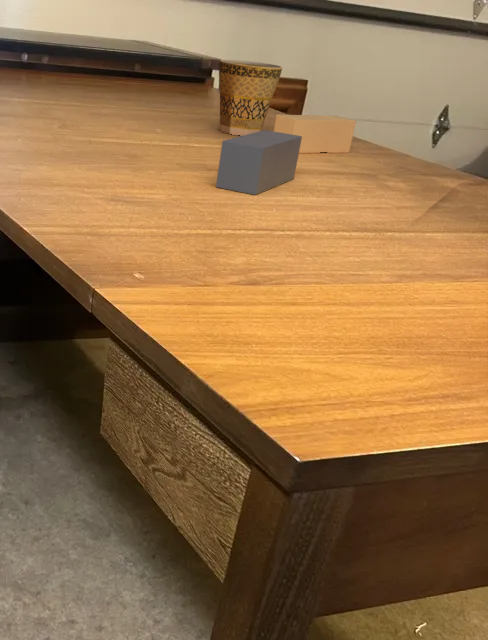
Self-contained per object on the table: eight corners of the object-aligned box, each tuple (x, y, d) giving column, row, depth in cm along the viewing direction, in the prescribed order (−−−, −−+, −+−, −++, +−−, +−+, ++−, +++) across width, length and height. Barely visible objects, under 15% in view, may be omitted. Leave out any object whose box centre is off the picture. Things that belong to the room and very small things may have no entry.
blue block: (264, 129, 103) (222, 140, 93) (302, 136, 101) (263, 147, 91) (257, 172, 106) (215, 187, 96) (293, 179, 104) (255, 195, 94)
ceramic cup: (267, 141, 130) (279, 69, 124) (205, 132, 131) (214, 61, 126) (275, 130, 140) (286, 64, 135) (218, 123, 142) (227, 57, 136)
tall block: (336, 115, 128) (276, 114, 122) (356, 120, 124) (295, 119, 119) (329, 147, 130) (270, 147, 125) (349, 152, 127) (289, 153, 122)
